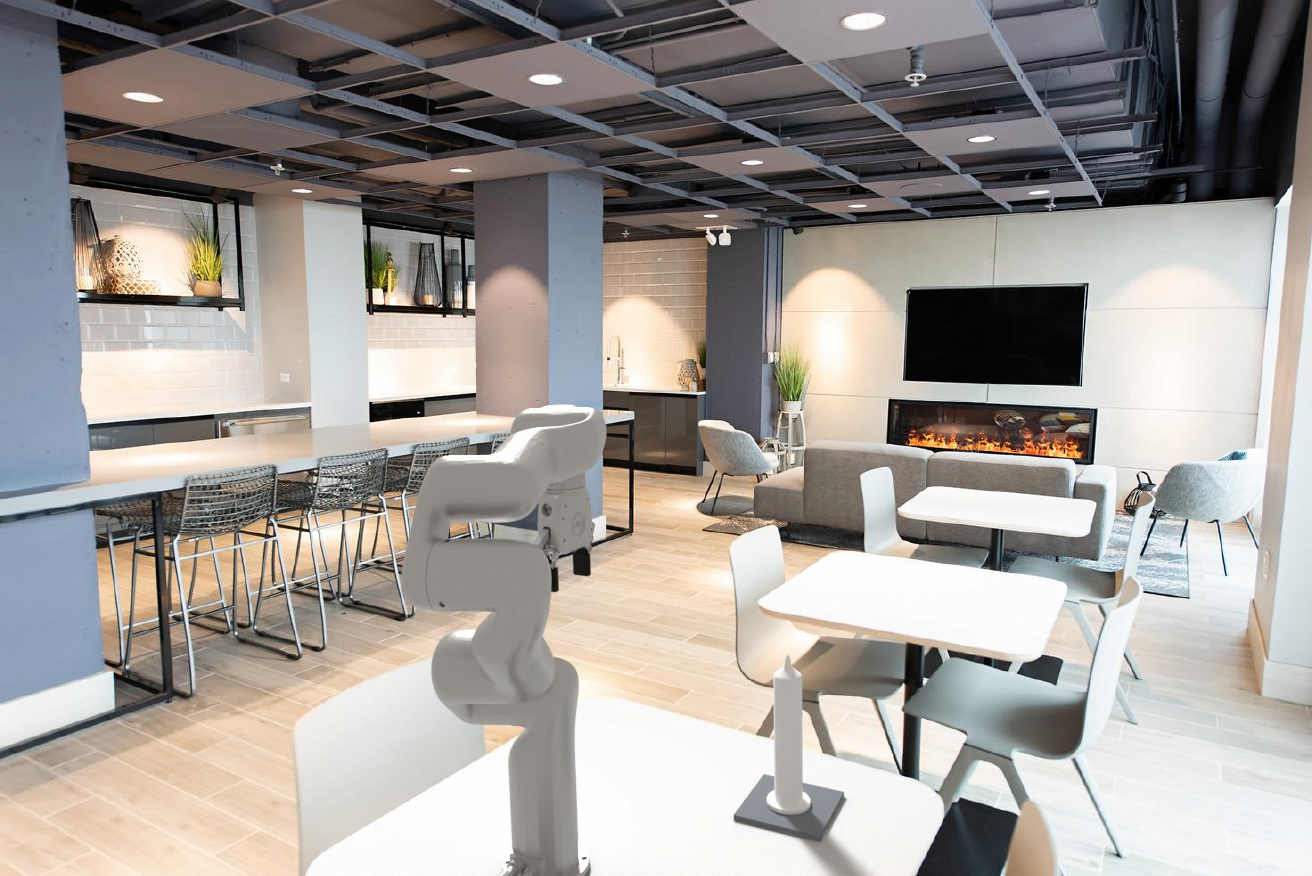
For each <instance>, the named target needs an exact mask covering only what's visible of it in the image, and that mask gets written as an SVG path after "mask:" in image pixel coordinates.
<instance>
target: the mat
mask: <svg viewBox="0 0 1312 876" xmlns="http://www.w3.org/2000/svg"><path fill="white" fill-rule="evenodd" d="M773 790H774V775H770V774H766V773H763V775H762V776H761V777H760V779H759V780H758V782H756V784H755V786H754V787H753V788H752V789H751V791H750V792H749V794H748V795H747V796H746V798H745V799H744V800H743V802H742V803H741V804H740V805H739V807H738V808H737V810H736V811H735V812H734V813H733V821H739V822H742V823H745V824H749V825H754V826H758V827H761V828H766V829H770V830H774V831H778V832H783V833H786V834H789V835H794V836H798V837H801V838H805V839H809V840H813V841H817V842H821V840H822V838H823V836H824V834H825V832H826V831H827V829H828V827H829V825H830V823H831V822H832V820H833V817H835V815H836V812H837V810H838V808H839V807H840V805H841V803H842V801H843V799H844V797H845V791H842V790H838V789H833V788H828V787H823V786H819V785H817V784H811V783H806V782H803V792H804V793H806V794H807V795H808V796H809V797H810V800H811V806H810V808H809V809H808V810H807V811H806V812H804V813H801V814H797V815H785V814H780V813H777V812H775V811H773V810H772V809H770V808H769V806H768V805H767V796H768V794H769V793H770V792H771V791H773Z"/></svg>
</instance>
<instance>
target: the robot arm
mask: <svg viewBox="0 0 1312 876" xmlns="http://www.w3.org/2000/svg"><path fill="white" fill-rule="evenodd" d="M606 441H607V425H606V420H605V418H604V415H603V414H602V412H600V411H599V410H598V409H597V408H593V407H585V406H584V407H582V406H581V407H579V406H578V405H575V404H552V405H551V404H550V405H544V406H542V407H539V408H538V407H536V408H535V407H533V408H526V409H523V410H522V411H521V412H519V413H518V414H517V416H515V418H514V420H513V422H512V424H511V428H510V435H509V436H508V437H507V438H505V439H504V440H503V442H502V443H501V444H500V445H499V446H498V447H497V448H496V449H495V450H494V452H492V454H480V455H478V454H476V455H474V454H472V455H471V454H470V455H469V454H467V455H443V456H440V457H437V458H436V459H435V460H434V461H433V462H432V463H431V464H430V466H429V467H428V470H427V471H426V473H425V475H424V478H423V479H422V482H421V486H420V489H419V493H418V495H417V499H416V503H415V506H414V507H415V508H414V511H413V514H412V515H413V517H412V520H411V521H412V522H411V525H410V528H409V529H410V530H409V534H408V538H407V542H406V547H405V552H404V557H403V560H402V561H403V562H402V568H401V587H402V588H401V589H402V592H403V596H404V597H405V599H406V601H407V602H408V603H409V604H410V605H411V606H413V608H416V609H418V610H421V611H429V612H473V613H475V612H476V613H477V612H479V613H484V612H485V613H486V612H487V613H488V615H487V616H486V617H485V618H484V619H483V620H482V621H481V622H480V624H478V626H477V628H473V629H472V628H471V629H469V628H467V629H456V630H453V631H449V632H447V633H446V634H445V635H444V636H442V638H440V640H439V641H438V643H437V645H436V646H435V648H434V652H433V654H432V659H431V665H430V667H431V668H430V671H431V672H430V673H431V681H432V682H431V683H432V687H433V689H434V692H435V693H434V694H435V695H436V697H437V699H438V700H439V701H440V702H441V704H442V705H443V706H445V707H446V709H448V710H449V711H450V712H451V713H452V714H454V716H456V718H458V719H459V720H460V721H462V722H463V723H466V724H469V725H473V726H475V725H476V726H512V727H520V728H524V729H523V730H522V731H521V733H520V734H519V735H518V736H517V738H516V739H515V741H514V742H513V744H512V745H511V747H510V749H509V753H508V759H507V761H508V762H507V765H508V785H509V787H508V788H509V789H508V790H509V804H510V805H509V806H510V807H509V809H510V810H509V811H510V826H511V827H510V829H511V850H510V851H508V853H507V854H506V855H505V857H504V859H503V861H502V867H501V868H502V869H501V870H502V871H501V872H500V873H499V874H497V876H586V875H587V873H588V872H589V869H590V863H591V862H590V853H589V851H588V849H587V847H586V846H585V844H583V843H581V842H579V826H578V821H579V820H578V804H577V803H578V796H577V773H576V772H577V771H576V769H577V768H576V742H575V741H576V740H575V739H576V718H577V709H578V701H579V700H578V699H579V691H580V682H579V681H580V679H579V674H578V671H577V669H576V667H575V666H574V665H573V664H572V662H569V661H567V660H566V659H563V658H561V657H556V656H554V655H553V652H552V651H551V649H550V646H549V645H548V643H547V641H546V639H545V638H544V636H543V635H544V632H545V630H546V627H547V623H548V619H549V613H550V607H551V599H552V593H557V592H559V591H560V590H559V589H560V587H559V585H560V581H559V567H558V566H556V565H557V562H558V559H559V557H560V554H561V555H567V554H570V553H572V572H573V575H574V576H579V577H580V576H581V577H590V576H591V575H592V573H591V572H592V567H591V563H592V562H591V552H592V549H593V547H592V543H593V540H594V532H595V528H596V524H595V522H593V514H592V508H591V507H592V505H591V499H590V495H589V490H588V486H587V485H586V479H587V478H586V472H587V471H589V470H591V469H592V468H594V467H595V466H596V465H597V463H598V461H599V460H600V458H601V455H602V453H603V451H604V448H605V445H606ZM537 506H538V508H537V537H536V538H535V539H534V541H533V542H532V543H530V542H527V541H524V540H518V539H510V538H509V539H508V538H449V535H450V529H451V526H452V525H453V524H457V523H459V524H460V523H461V524H463V523H464V524H465V523H466V524H469V523H470V524H474V523H484V524H490V523H492V524H493V523H494V524H497V523H498V524H500V523H512V522H516V521H520V520H522V519H525V518H526V517H528V516H529V515H530V514H532V512H533V511H534V510H535V508H536V507H537ZM548 555H551V556H550V557H549V556H548ZM489 612H490V613H489Z"/></svg>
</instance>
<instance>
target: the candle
mask: <svg viewBox="0 0 1312 876" xmlns="http://www.w3.org/2000/svg"><path fill="white" fill-rule="evenodd" d="M772 679H773V682H772V684H773V767H774V769H773V771H774V772H773V773H774V774H773V776H774V790H773V791H771V792H770V793H769V794H768V796H767V805H768V806H769V808H770V809H772V810H773V811H775V812H777V813H780V814H785V815H797V814H801V813H804V812H806V811H807V810H808V809H809V808H810V806H811V800H810V797H809V796H808V795H807V794H806V793H804V792H803V783H804V782H803V779H804V778H803V777H804V776H803V774H804V773H803V771H804V770H803V764H804V763H803V676H802V673H801V672H800V671H798V670H797V668H796V669H795V667H793V665H792V661H791V657H790V655H789V654H786V655H785V658H784V662H783V664H782V666H781V668H779V669H777V670H776V671H774V673H773V678H772Z"/></svg>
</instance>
